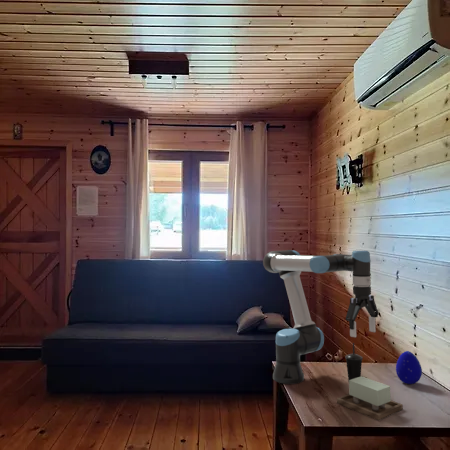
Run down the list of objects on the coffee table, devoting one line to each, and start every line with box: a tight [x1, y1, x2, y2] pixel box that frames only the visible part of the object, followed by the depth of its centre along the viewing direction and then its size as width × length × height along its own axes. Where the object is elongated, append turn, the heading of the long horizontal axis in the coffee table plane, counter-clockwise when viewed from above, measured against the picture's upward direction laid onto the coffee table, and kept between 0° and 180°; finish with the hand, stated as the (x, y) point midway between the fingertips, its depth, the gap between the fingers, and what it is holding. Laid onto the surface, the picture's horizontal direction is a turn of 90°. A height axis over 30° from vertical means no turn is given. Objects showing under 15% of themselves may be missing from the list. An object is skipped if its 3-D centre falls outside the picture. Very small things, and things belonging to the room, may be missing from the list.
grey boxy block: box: [348, 375, 391, 406], centre depth 168 cm, size 14×8×6 cm, turn 33°
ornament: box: [395, 350, 423, 385], centre depth 192 cm, size 11×9×15 cm
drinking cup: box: [345, 342, 363, 382], centre depth 189 cm, size 8×8×20 cm
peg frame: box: [336, 393, 404, 422], centre depth 168 cm, size 20×16×4 cm
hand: (363, 334), depth 179 cm, fingers open, 13 cm apart
